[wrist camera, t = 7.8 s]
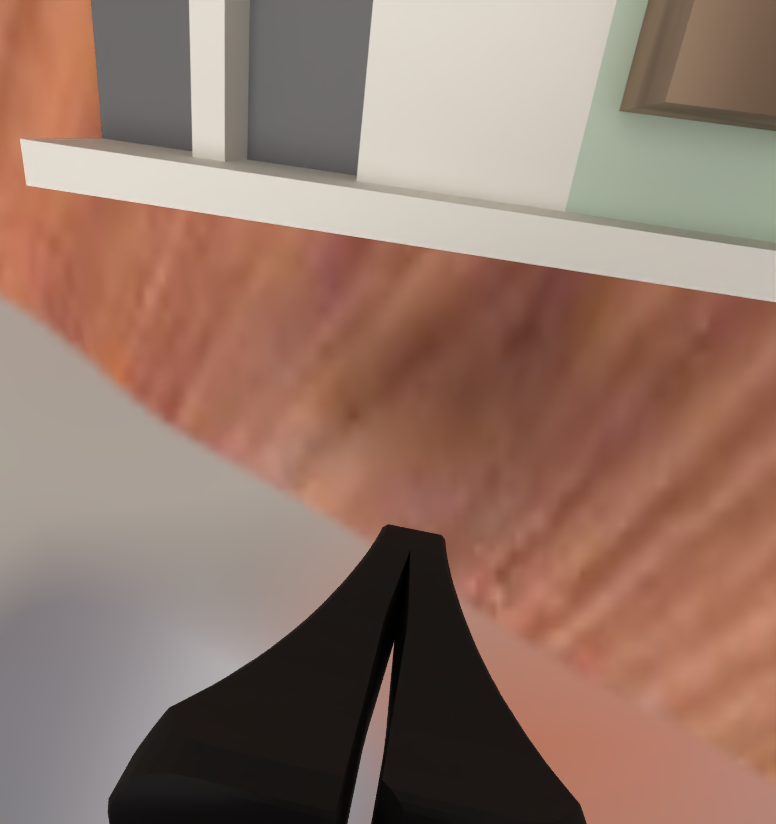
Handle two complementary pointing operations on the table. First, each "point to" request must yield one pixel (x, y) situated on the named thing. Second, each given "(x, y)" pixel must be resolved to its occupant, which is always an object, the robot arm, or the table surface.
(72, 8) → the table surface
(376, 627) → the robot arm
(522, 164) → the track
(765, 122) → the walnut block
